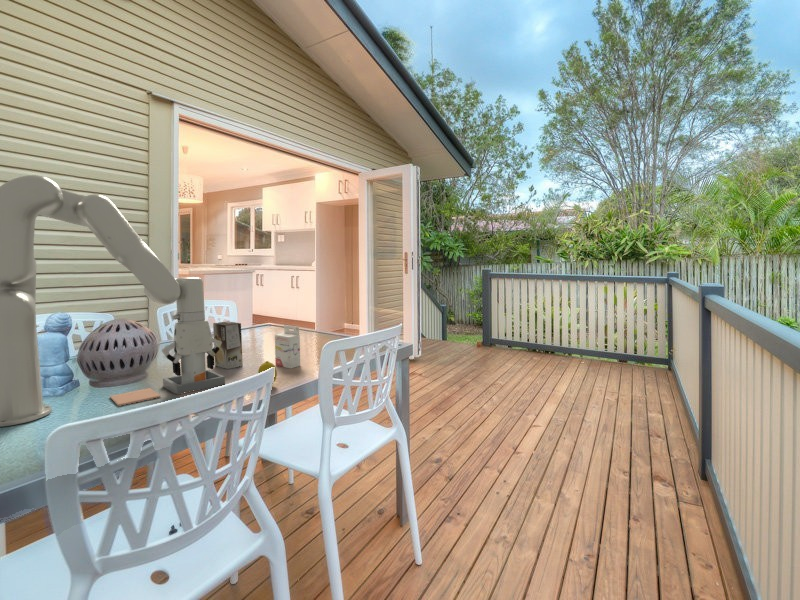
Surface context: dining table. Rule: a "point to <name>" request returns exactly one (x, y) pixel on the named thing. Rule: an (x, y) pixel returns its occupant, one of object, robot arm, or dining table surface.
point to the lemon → (267, 366)
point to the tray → (193, 383)
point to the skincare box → (193, 368)
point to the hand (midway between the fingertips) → (194, 371)
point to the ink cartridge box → (288, 348)
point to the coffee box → (228, 344)
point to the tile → (134, 396)
